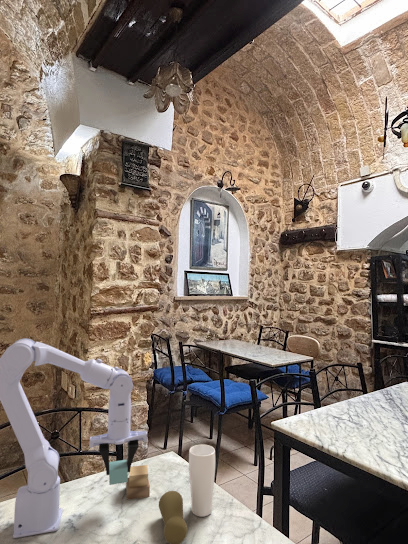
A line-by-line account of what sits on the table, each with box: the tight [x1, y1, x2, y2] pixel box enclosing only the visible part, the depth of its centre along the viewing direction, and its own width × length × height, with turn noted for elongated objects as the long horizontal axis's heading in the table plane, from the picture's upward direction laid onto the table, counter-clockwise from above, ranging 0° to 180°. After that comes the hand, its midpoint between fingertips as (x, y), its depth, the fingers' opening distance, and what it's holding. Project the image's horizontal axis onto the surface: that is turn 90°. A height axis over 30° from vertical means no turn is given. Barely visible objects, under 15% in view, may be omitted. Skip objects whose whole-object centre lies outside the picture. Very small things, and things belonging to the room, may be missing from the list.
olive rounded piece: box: [158, 490, 188, 544], centre depth 78 cm, size 6×6×11 cm
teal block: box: [108, 459, 129, 486], centre depth 87 cm, size 4×4×4 cm
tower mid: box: [128, 464, 149, 487], centre depth 93 cm, size 5×5×3 cm
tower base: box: [125, 477, 151, 501], centre depth 93 cm, size 6×6×3 cm
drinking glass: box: [188, 443, 216, 518], centre depth 85 cm, size 7×7×15 cm
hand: (118, 471), depth 87 cm, fingers closed on teal block, 4 cm apart
